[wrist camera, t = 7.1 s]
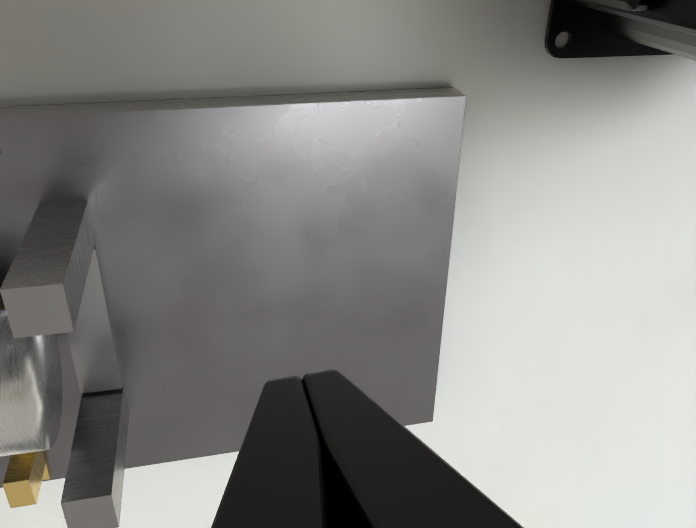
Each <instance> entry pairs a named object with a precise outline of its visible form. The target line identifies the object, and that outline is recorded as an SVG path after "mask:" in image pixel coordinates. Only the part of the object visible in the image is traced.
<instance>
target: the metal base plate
mask: <svg viewBox="0 0 696 528" xmlns="http://www.w3.org/2000/svg"><path fill="white" fill-rule="evenodd" d="M465 102H466V96H465V95H464V94H462V93H461V92H459V91H458V90H456V89H455V88H453V87H451V88H428V89H405V90H382V91H358V92H335V93H312V94H288V95H265V96H242V97H219V98H195V99H172V100H149V101H126V102H102V103H79V104H56V105H33V106H9V107H0V310H6V313H7V317H8V320H9V324H10V327H11V331H12V334H13V338H21V337H31V336H40V335H49V334H56V338H57V343H58V348H59V354H60V361H61V371H62V414H61V423H60V428H59V432H58V436H57V439H56V442H55V443H54V445H53V447H52V448H50V449H48V450H42V451H35V452H28V453H21V454H14V455H8V456H1V457H0V488H2V487H4V490H5V493H6V496H7V499H8V502H9V504H10V507H11V508H14V507H20V506H27V505H33V504H36V502H37V498H38V494H39V490H40V485H41V481H47V480H54V479H60V478H66V479H65V484H64V490H63V495H62V500H61V505H62V509H63V512H64V516H65V519H66V523H67V526H68V528H117V527H119V521H120V510H121V499H122V488H123V478H124V469H125V468H132V467H138V466H145V465H151V464H158V463H164V462H171V461H177V460H184V459H190V458H197V457H204V456H210V455H217V454H223V453H230V452H236V451H240V449H241V446H242V443H243V441H244V438H245V435H246V432H247V430H248V427H249V424H250V422H251V419H252V416H253V414H254V411H255V408H256V405H257V403H258V400H259V397H260V395H261V392H262V389H263V387H264V385H265V383H266V382H267V381H268V380H271V379H276V378H282V377H287V376H293V375H297V376H299V377H300V378H301V379H302V378H303V375H304V374H306V373H310V372H315V371H321V370H326V369H336V370H338V371H340V372H341V373H342V374H343V375H344V376H346V377H347V378H348V379H349V380H350V381H351V382H353V383H354V384H355V385H356V386H357V387H359V388H360V389H361V390H362V391H363V392H364V393H366V394H367V395H368V396H369V397H370V398H371V399H373V400H374V401H375V402H376V403H377V404H379V405H380V406H381V407H382V408H383V409H384V410H386V411H387V412H388V413H389V414H390V415H392V416H393V417H394V418H395V419H396V420H397V421H399V422H400V423H401V424H402V425H403V426H406V425H412V424H419V423H425V422H432V421H433V412H434V402H435V393H436V383H437V373H438V364H439V354H440V344H441V335H442V325H443V315H444V305H445V296H446V286H447V276H448V267H449V257H450V247H451V238H452V228H453V218H454V209H455V199H456V189H457V179H458V170H459V160H460V150H461V141H462V131H463V121H464V112H465Z"/></svg>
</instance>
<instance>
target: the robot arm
mask: <svg viewBox="0 0 696 528" xmlns="http://www.w3.org/2000/svg"><path fill="white" fill-rule="evenodd" d="M564 31H565V32H566V33H567V34H568V42H567V44H566V45H565V46H564V47H563V48H560V49H558V48H557V47H556V46H555V40H556V37H557V36H558V35H559V34H560V33H561V32H564ZM545 48H546V50H547V52H548V53H549V54H550V55H551V56H553V57H556V58H583V57H612V56H641V55H670V54H676V55H680V56H683V57H686V58H689V59H693V60H696V0H551V5H550V11H549V17H548V24H547V30H546V37H545ZM211 528H524V527H522V526H521V525H520V524H519V523H518V522H516V521H515V520H514V519H513V518H512V517H511V516H509V515H508V514H507V513H506V512H505V511H504V510H502V509H501V508H500V507H499V506H498V505H496V504H495V503H494V502H493V501H492V500H491V499H489V498H488V497H487V496H486V495H485V494H483V493H482V492H481V491H480V490H479V489H478V488H476V487H475V486H474V485H473V484H472V483H470V482H469V481H468V480H467V479H466V478H465V477H463V476H462V475H461V474H460V473H459V472H458V471H456V470H455V469H454V468H453V467H452V466H450V465H449V464H448V463H447V462H446V461H445V460H443V459H442V458H441V457H440V456H439V455H437V454H436V453H435V452H434V451H433V450H432V449H430V448H429V447H428V446H427V445H426V444H425V443H423V442H422V441H421V440H420V439H419V438H417V437H416V436H415V435H414V434H413V433H412V432H410V431H409V430H408V429H407V428H406V427H404V426H403V425H402V424H401V423H400V422H399V421H397V420H396V419H395V418H394V417H393V416H392V415H390V414H389V413H388V412H387V411H386V410H384V409H383V408H382V407H381V406H380V405H379V404H377V403H376V402H375V401H374V400H373V399H371V398H370V397H369V396H368V395H367V394H366V393H364V392H363V391H362V390H361V389H360V388H359V387H357V386H356V385H355V384H354V383H353V382H351V381H350V380H349V379H348V378H347V377H346V376H344V375H343V374H342V373H341V372H340V371H338V370H336V369H326V370H321V371H315V372H310V373H306V374H304V375H303V378H302V379H301V378H300V377H299V376H297V375H293V376H287V377H282V378H276V379H271V380H268V381H267V382H266V383H265V385H264V387H263V389H262V392H261V395H260V397H259V400H258V403H257V405H256V408H255V411H254V414H253V416H252V419H251V422H250V424H249V427H248V430H247V432H246V435H245V438H244V441H243V443H242V446H241V449H240V451H239V454H238V457H237V459H236V462H235V465H234V467H233V470H232V473H231V476H230V478H229V481H228V484H227V486H226V489H225V492H224V494H223V497H222V500H221V503H220V505H219V508H218V511H217V513H216V516H215V519H214V521H213V524H212V527H211Z"/></svg>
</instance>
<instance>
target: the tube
mask: <svg viewBox="0 0 696 528" xmlns="http://www.w3.org/2000/svg"><path fill="white" fill-rule="evenodd" d="M61 414H62V371H61V361H60V354H59V348H58V343H57V338H56V334H49V335H40V336H31V337H21V338H13V334H12V331H11V327H10V324H9V320H8V317H7V313H6V310H0V457H1V456H8V455H14V454H21V453H28V452H35V451H42V450H48V449H50V448H52V447H53V445H54V443H55V442H56V439H57V436H58V432H59V428H60V423H61Z"/></svg>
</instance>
